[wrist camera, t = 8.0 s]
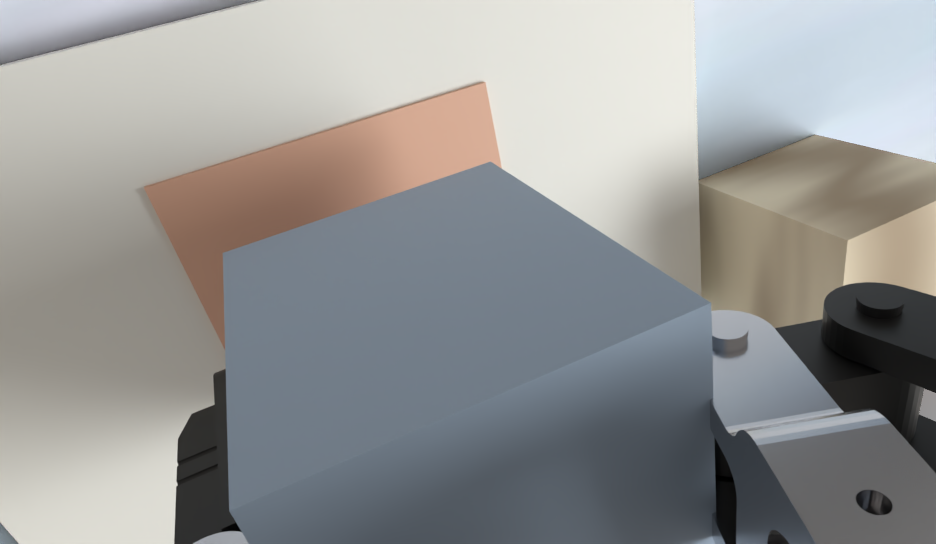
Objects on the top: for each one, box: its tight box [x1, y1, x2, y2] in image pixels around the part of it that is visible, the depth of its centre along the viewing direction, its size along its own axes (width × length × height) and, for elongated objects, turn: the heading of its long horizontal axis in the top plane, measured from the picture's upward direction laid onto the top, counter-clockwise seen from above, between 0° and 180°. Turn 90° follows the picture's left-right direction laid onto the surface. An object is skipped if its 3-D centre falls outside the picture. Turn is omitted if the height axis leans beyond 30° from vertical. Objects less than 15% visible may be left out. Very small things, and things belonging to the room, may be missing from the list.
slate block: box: [223, 162, 716, 544], centre depth 10 cm, size 5×5×6 cm
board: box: [0, 0, 702, 544], centre depth 14 cm, size 18×12×1 cm, turn 102°
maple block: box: [699, 135, 936, 328], centre depth 17 cm, size 4×4×5 cm
